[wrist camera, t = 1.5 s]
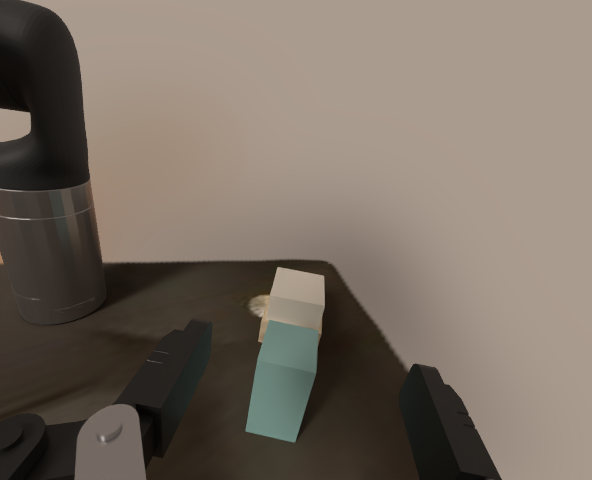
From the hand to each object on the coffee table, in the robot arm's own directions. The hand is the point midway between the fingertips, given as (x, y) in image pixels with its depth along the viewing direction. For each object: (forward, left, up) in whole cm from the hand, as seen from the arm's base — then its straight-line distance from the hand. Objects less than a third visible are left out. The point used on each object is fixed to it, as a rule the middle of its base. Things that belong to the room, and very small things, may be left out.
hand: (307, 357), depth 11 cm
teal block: (-6, +9, -20) cm, 23 cm away
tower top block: (-12, +20, -17) cm, 29 cm away
